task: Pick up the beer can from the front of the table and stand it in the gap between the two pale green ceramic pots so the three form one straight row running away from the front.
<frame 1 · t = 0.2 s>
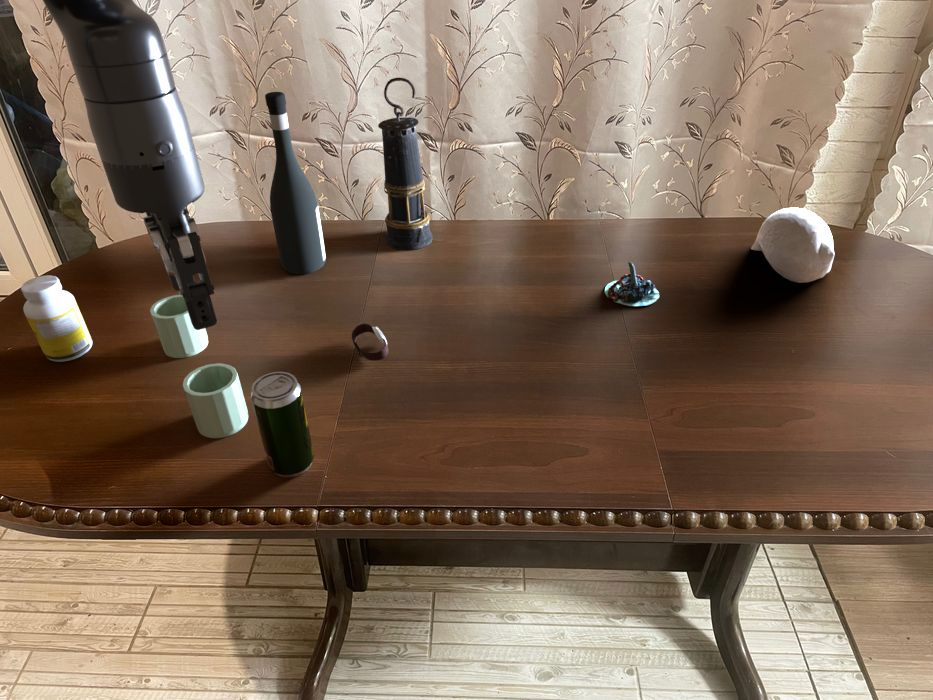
hand: (194, 306, 66), 22 cm above the table, tool pointing down, fingers open, 8 cm apart
wine bottle: (304, 266, 118), on the table
lantern: (409, 240, 127), on the table
far pot: (186, 345, 98), on the table
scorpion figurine: (631, 294, 110), on the table
near pot: (223, 421, 85), on the table
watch: (371, 350, 97), on the table
pill bottle: (70, 351, 98), on the table
beer can: (292, 464, 79), on the table
seashell: (786, 266, 117), on the table
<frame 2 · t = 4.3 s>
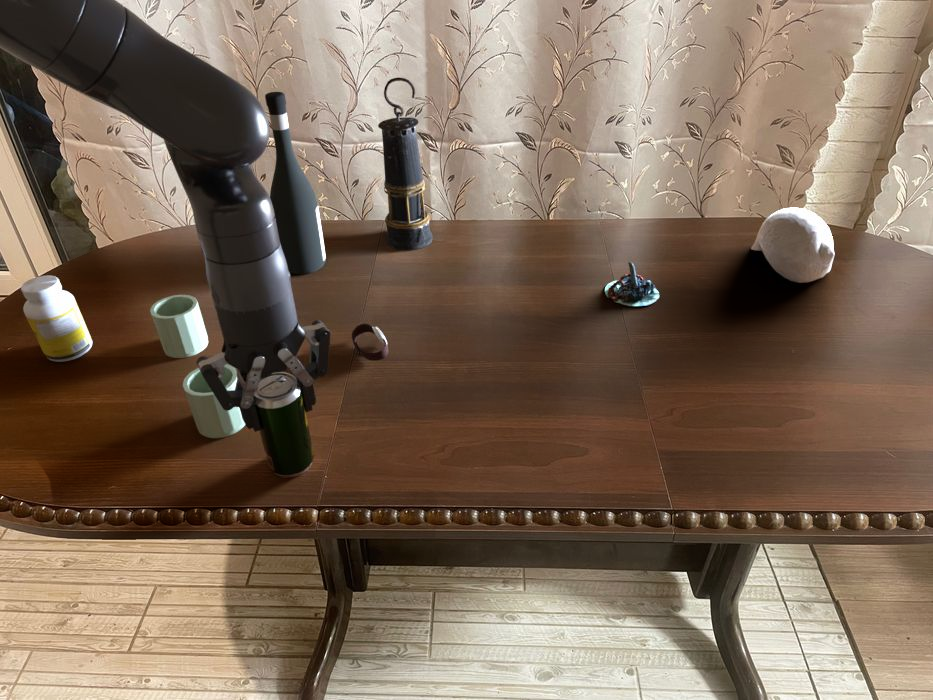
hand: (281, 416, 74), 7 cm above the table, tool pointing down, fingers closed on beer can, 5 cm apart
beer can: (292, 464, 79), on the table, touching gripper
everything else where it was.
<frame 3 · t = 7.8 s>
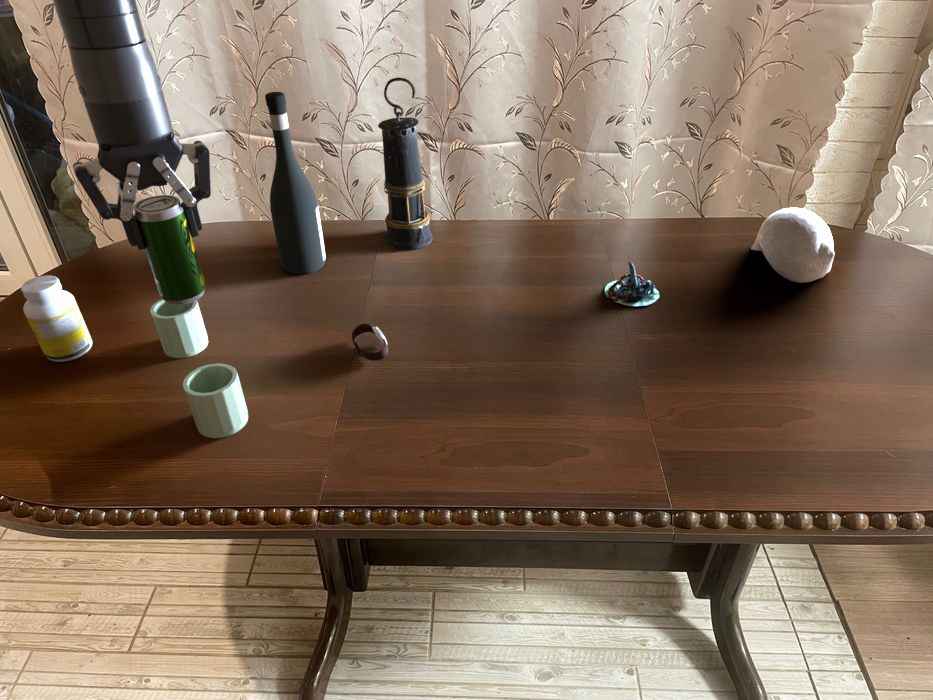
hand: (167, 240, 77), 23 cm above the table, tool pointing down, fingers closed on beer can, 5 cm apart
beer can: (184, 296, 81), point 15 cm above the table, touching gripper
everything else where it was.
when the fingers open (7 cm above the table, at t = 11.7 s): beer can stays where it is, on the table.
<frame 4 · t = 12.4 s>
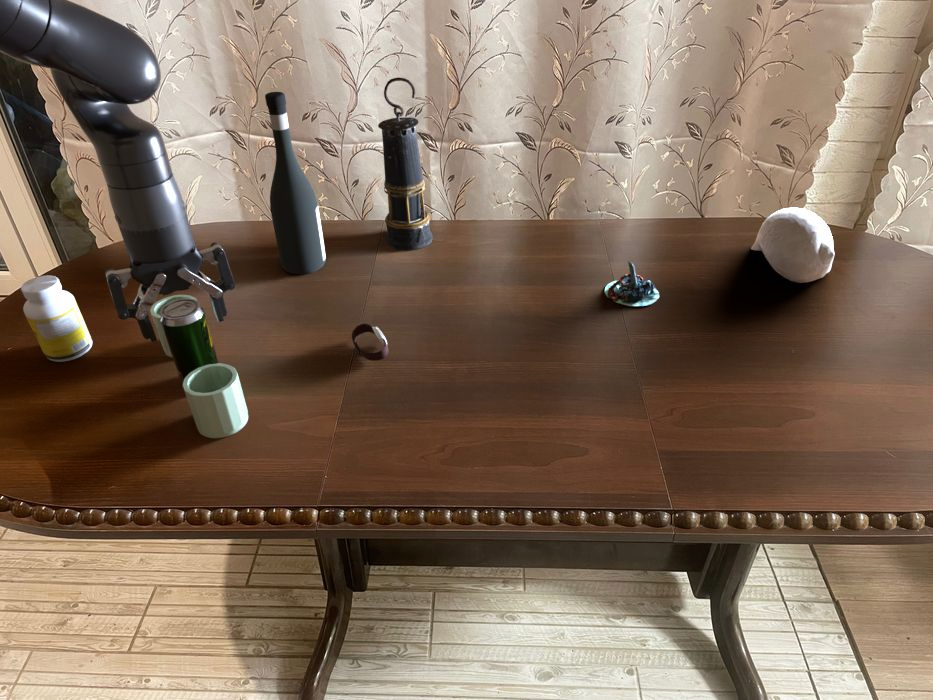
hand: (187, 328, 86), 9 cm above the table, tool pointing down, fingers open, 8 cm apart
beer can: (203, 382, 92), on the table
everything else where it was.
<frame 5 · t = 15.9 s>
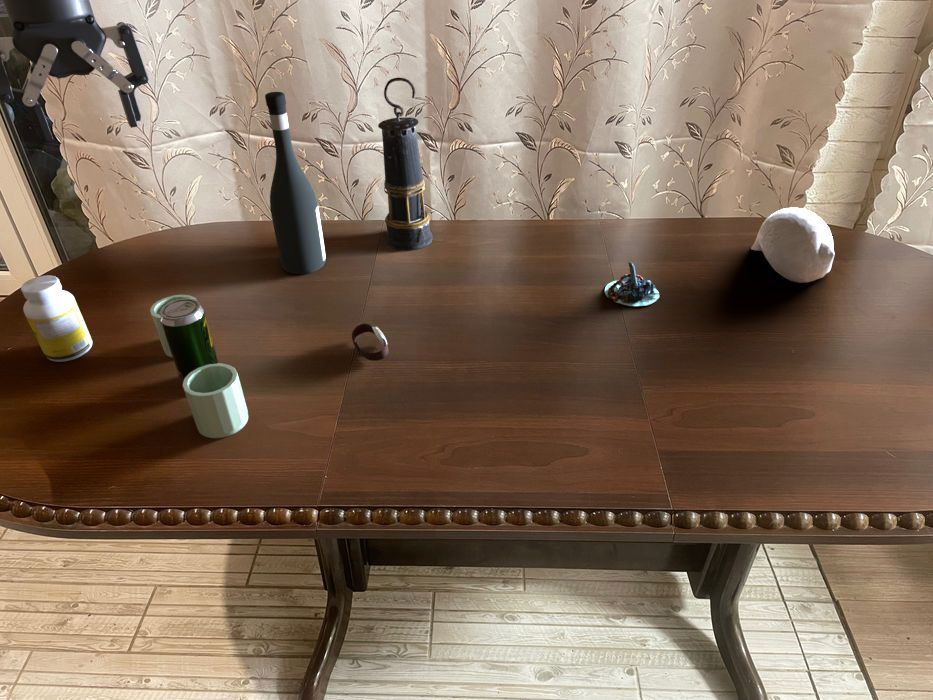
hand: (92, 132, 73), 34 cm above the table, tool pointing down, fingers open, 8 cm apart
nothing on the table moved.
at the end: beer can 0.1 cm from the target spot on the table beside the far pot, on the table; beer can tilted 0°; the gripper is holding nothing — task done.
